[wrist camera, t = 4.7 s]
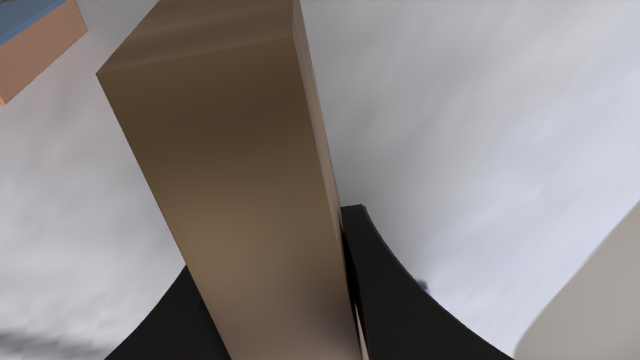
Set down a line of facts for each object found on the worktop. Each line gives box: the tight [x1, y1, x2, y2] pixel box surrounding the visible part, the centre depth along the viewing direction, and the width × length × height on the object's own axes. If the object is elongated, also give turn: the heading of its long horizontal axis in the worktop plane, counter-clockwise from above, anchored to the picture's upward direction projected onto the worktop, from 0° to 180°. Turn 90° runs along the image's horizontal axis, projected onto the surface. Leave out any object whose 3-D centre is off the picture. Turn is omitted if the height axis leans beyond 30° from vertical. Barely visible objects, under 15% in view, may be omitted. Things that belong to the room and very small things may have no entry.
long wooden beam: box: [96, 0, 369, 360], centre depth 13 cm, size 14×3×5 cm, turn 10°
